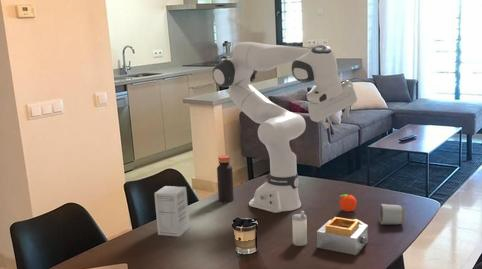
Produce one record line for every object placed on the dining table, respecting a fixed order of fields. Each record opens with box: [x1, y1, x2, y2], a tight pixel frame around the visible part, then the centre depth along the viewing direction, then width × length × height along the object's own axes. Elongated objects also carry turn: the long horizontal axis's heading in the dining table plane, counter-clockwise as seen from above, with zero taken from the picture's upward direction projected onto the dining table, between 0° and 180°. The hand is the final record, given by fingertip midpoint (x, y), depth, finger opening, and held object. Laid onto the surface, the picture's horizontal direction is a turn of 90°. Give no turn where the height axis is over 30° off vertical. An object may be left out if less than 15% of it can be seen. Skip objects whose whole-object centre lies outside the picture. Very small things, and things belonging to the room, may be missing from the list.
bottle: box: [216, 155, 235, 203], centre depth 234 cm, size 7×7×20 cm
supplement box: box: [154, 185, 190, 237], centre depth 201 cm, size 10×9×17 cm
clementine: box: [337, 194, 358, 212], centre depth 216 cm, size 8×7×7 cm
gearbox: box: [316, 216, 369, 256], centre depth 183 cm, size 15×12×8 cm
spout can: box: [291, 210, 308, 247], centre depth 186 cm, size 5×5×12 cm
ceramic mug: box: [378, 203, 405, 225], centre depth 202 cm, size 11×8×8 cm
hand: (337, 122), depth 199 cm, fingers open, 8 cm apart
